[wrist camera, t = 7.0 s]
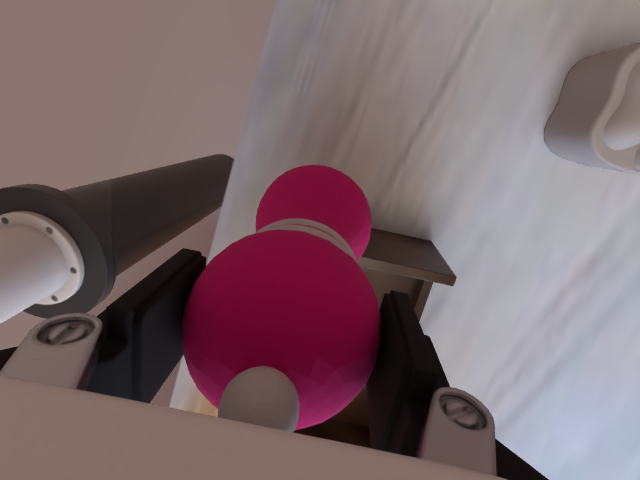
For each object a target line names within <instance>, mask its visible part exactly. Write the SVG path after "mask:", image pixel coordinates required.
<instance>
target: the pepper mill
mask: <svg viewBox="0 0 640 480" xmlns="http://www.w3.org/2000/svg"><path fill="white" fill-rule="evenodd" d="M370 233H371V213H370V208H369V205H368V202H367V199H366V197H365V195H364V193H363V192H362V190H361V189H360V187H359V186H358V185H357V184H356V183H355V182H354V181H353V180H352V179H351V178H350V177H348V176H347V175H345V174H344V173H342V172H340V171H338V170H336V169H333V168H331V167H327V166H321V165H307V166H301V167H297V168H294V169H292V170H289V171H287V172H285V173H284V174H282V175H281V176H279V177H278V178H277V179H276V180H275V181H274V182H273V183H272V184H271V185H270V186H269V188H268V189H267V191H266V192H265V194H264V196H263V197H262V199H261V201H260V204H259V207H258V210H257V215H256V233H255V234H253V235H249V236H246V237H244V238H242V239H240V240H238V241H236V242H234V243H232V244H231V245H229V246H228V247H227V248H226V249H224V250H223V251H222V252H221V253H219V254H218V255H217V256H215V257H214V258H213V259H212V260H211V261H210V263H209V264H208V265H207V266H206V267H205V269H204V270H203V272H202V273H201V274H200V276H199V277H198V279H197V280H196V282H195V284H194V286H193V288H192V290H191V293H190V295H189V297H188V300H187V302H186V306H185V310H184V315H183V320H182V350H183V354H184V357H185V360H186V363H187V366H188V370H189V373H190V375H191V377H192V379H193V380H194V382H195V384H196V386H197V387H198V389H199V390H200V392H201V393H202V394H203V395H204V396H205V397H206V398H207V399H208V400H209V401H210V402H211V404H212V405H214V406H215V407H216V408H218V417H219V418H224V419H229V420H234V421H239V422H244V423H249V424H253V425H258V426H263V427H268V428H273V429H278V430H283V431H288V432H293V431H294V430H298V429H302V428H306V427H310V426H313V425H316V424H319V423H323V422H324V421H326V420H328V419H329V418H331V417H333V416H334V415H336V414H337V413H339V412H340V411H341V410H343V409H344V408H345V407H346V406H347V405H348V404H349V403H350V402H351V401H352V400H353V399H354V398H355V397H356V396H357V395H358V394H359V393H360V391H361V390H362V388H363V387H364V386H365V384H366V383H367V381H368V379H369V377H370V375H371V373H372V370H373V368H374V366H375V363H376V360H377V356H378V352H379V347H380V341H381V318H380V312H379V306H378V301H377V299H376V296H375V293H374V290H373V287H372V285H371V283H370V281H369V279H368V277H367V275H366V274H365V272H364V271H363V270H362V269H361V267H360V266H359V265H358V263H357V261H358V260H359V258H360V257H361V256H362V255H363V253H364V251H365V249H366V247H367V245H368V242H369V238H370Z"/></svg>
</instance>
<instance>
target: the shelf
mask: <svg viewBox="0 0 640 480" xmlns="http://www.w3.org/2000/svg"><path fill="white" fill-rule="evenodd" d="M357 263H358V265H359V266H360V267H361V269H362V270H363V271H364V272H365V274H366V275H367V277H368V279H369V281H370V283H371V285H372V287H373V290H374V293H375V296H376V299H377V301H378V306H379V309H380V306H381V302H382V299H383V296H384V294H385V293H387V294H390V292H391V290H393V291H398V292H403V293H408V294H409V297H410V299H411V302H412V305H413V307H414V310H415V312H416V315H417V318H418V320H419V321H420V318H421V315H422V312H423V310H424V307H425V304H426V301H427V298H428V295H429V293H430V290H431V287H432V284H433V282H435V283H440V284H445V285H449V286H454V283H455V280H456V276H455V274H454V273H453V271H452V270H451V269H450V267H449V266H448V264H447V263H446V261H445V260H444V259H443V257H442V256H441V254H440V253H439V251H438V250H437V249H436V247H435V246H434V244H433V243H432V242H431V241H429V240H424V239H420V238H415V237H411V236H406V235H401V234H397V233H392V232H388V231H383V230H378V229H374V228H371V233H370V238H369V242H368V245H367V247H366V249H365V251H364V253H363V255H362V256H361V257H360V258H359V260H358V261H357ZM293 433H298V434H303V435H308V436H313V437H318V438H323V439H328V440H333V441H338V442H343V443H347V444H352V445H357V446H362V447H367V448H371V438H370V426H369V414H368V402H367V390H366V384H365V386H364V387H363V388H362V390H361V391H360V393H359V394H358V395H357V396H356V397H355V398H354V399H353V400H352V401H351V402H350V403H349V404H348V405H347V406H346V407H345V408H344V409H343V410H341V411H340V412H339V413H337V414H336V415H334V416H333V417H331V418H329V419H328V420H326V421H324V422H323V423H319V424H316V425H313V426H310V427H306V428H302V429H298V430H294V431H293Z"/></svg>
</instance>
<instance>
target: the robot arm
mask: <svg viewBox="0 0 640 480" xmlns="http://www.w3.org/2000/svg"><path fill="white" fill-rule="evenodd" d="M205 267H206V258H205V257H203V256H202V255H201V252H199V251H195V250H190V249H184V248H183V249H182V250H180V251H179V252H178V253H176V254H175V255H174V256H172V257H171V258H170V259H168V260H167V261H166V262H165V263H163V264H162V265H161V266H159V267H158V268H157V269H156V270H154V271H153V272H152V273H150V274H149V275H148V276H147V277H145V278H144V279H143V280H142V281H140V282H139V283H137V284H136V285H135V286H134V287H132V288H131V289H130V290H128V291H127V292H126V293H125V294H123V295H122V296H121V297H119V298H118V299H117V300H116V301H114V302H113V303H112V304H110V305H109V306H108V307H107V308H106V310H104V311H103V312H102V313H100V314H99V315H98V316H97V317H96V316H93V315H90V314H84V313H71V314H63V315H59V316H55V317H52V318H49V319H47V320H44V321H42V322H41V323H39V324H37V325H36V326H35V327H34V328H33V329H31V330H30V332H29V333H28V334H27V336H26V337H25V338H24V340H23V341H22V342H21V344H20V345H19V346H18V347H13V348H9V349H4V350H0V480H548V479H547V478H546V477H545V476H543V475H542V474H541V473H539V472H538V471H537V470H535V469H534V468H533V467H531V466H530V465H529V464H528V463H526V462H525V461H524V460H522V459H521V458H520V457H518V456H517V455H516V454H515V453H513V452H512V451H511V450H509V449H508V448H507V447H505V446H504V445H503V444H502V443H500V442H499V441H498V440H496V439H495V424H494V420H493V417H492V415H491V413H490V412H489V410H488V409H487V408H486V407H485V406H484V405H483V403H482V402H480V401H479V400H478V399H476V398H475V397H474V396H472V395H470V394H469V393H467V392H465V391H462V390H460V389H457V388H452V387H450V386H449V383H448V381H447V378H446V376H445V373H444V371H443V368H442V366H441V363H440V361H439V358H438V356H437V353H436V351H435V349H434V346H433V344H432V341H431V339H430V337H429V336H427V335H424V334H423V331H422V328H421V326H420V323H419V320H418V318H417V315H416V312H415V310H414V307H413V305H412V302H411V299H410V297H409V294H408V293H403V292H398V291H393V290H391V292H390V294H387V293H385V294H384V296H383V299H382V302H381V306H380V309H379V312H380V318H381V341H380V347H379V352H378V356H377V360H376V363H375V366H374V368H373V370H372V373H371V375H370V377H369V379H368V381H367V383H366V390H367V402H368V414H369V426H370V438H371V448H367V447H362V446H357V445H352V444H347V443H343V442H338V441H333V440H328V439H323V438H318V437H313V436H308V435H303V434H298V433H293V432H288V431H283V430H278V429H273V428H268V427H263V426H258V425H253V424H249V423H244V422H239V421H234V420H229V419H224V418H219V417H214V416H209V415H204V414H199V413H194V412H189V411H184V410H179V409H174V408H169V407H164V406H160V405H154V404H150V402H151V400H152V399H153V398H154V396H155V395H156V393H157V392H158V390H159V389H160V387H161V386H162V384H163V383H164V382H165V380H166V379H167V377H168V376H169V375H170V373H171V372H172V370H173V369H174V367H175V366H176V364H177V363H178V361H179V360H180V359H181V357H182V356H183V350H182V320H183V315H184V310H185V306H186V302H187V300H188V297H189V295H190V293H191V290H192V288H193V286H194V284H195V282H196V280H197V279H198V277H199V276H200V274H201V273H202V272H203V270H204V269H205ZM83 278H84V262H83V257H82V255H81V252H80V250H79V248H78V246H77V244H76V243H75V241H74V240H73V238H72V237H71V236H70V235H69V233H68V232H67V231H66V230H65V229H63V228H62V227H61V226H60V225H59V224H57V223H56V222H54V221H53V220H52V219H50V218H48V217H46V216H44V215H41V214H38V213H35V212H30V211H13V212H10V213H6V214H3V215H0V323H2V322H4V321H5V320H7V319H9V318H11V317H13V316H14V315H16V314H18V313H19V312H21V311H23V310H25V309H26V308H28V307H30V306H32V305H33V304H43V305H50V304H56V303H60V302H62V301H64V300H66V299H68V298H69V297H71V296H72V295H74V294H75V293H76V292H77V291H78V290H79V288H80V286H81V284H82V282H83Z"/></svg>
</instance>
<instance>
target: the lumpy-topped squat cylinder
mask: <svg viewBox="0 0 640 480" xmlns="http://www.w3.org/2000/svg"><path fill="white" fill-rule="evenodd" d="M544 139H545V142H546V145H547V146H548V148H549V149H550V150H551V151H552V152H553V153H554V154H555V155H557V156H559V157H561V158H564V159H567V160H570V161H573V162H576V163H579V164H583V165H588V166H593V167H599V168H604V169H610V170H616V171H621V172H627V173H632V174H638V175H640V43H637V44H633V45H630V46H626V47H622V48H618V49H615V50H611V51H607V52H604V53H600V54H596V55H593V56H590V57H587V58H585V59H583V60H581V61H580V62H578V63H577V64H576V65H574V66H573V67H572V68H571V70H570V71H569V72H568V74H567V76H566V78H565V81H564V84H563V88H562V92H561V95H560V99H559V101H558V104H557V106H556V108H555V110H554V112H553V113H552V115H551V117H550V118H549V120H548V122H547V124H546V127H545V131H544Z"/></svg>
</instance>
